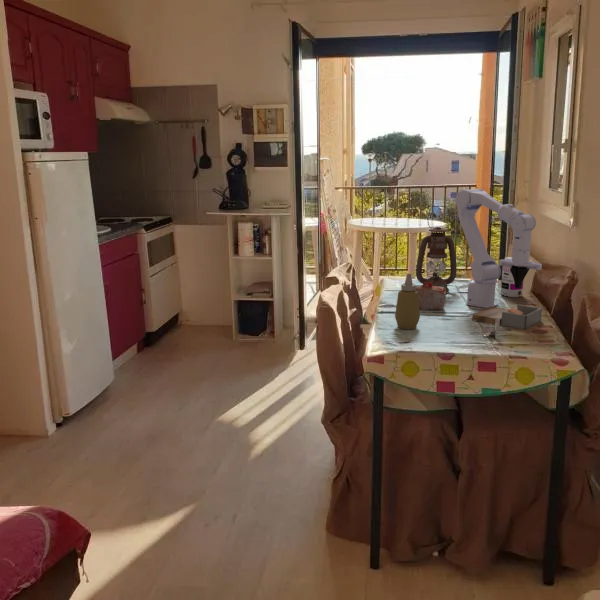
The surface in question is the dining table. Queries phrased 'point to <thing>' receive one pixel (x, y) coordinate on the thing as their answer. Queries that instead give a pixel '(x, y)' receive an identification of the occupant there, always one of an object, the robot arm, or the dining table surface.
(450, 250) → the lantern
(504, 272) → the supplement can
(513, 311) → the tile terracotta
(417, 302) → the squeeze bottle
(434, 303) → the food item
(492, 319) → the walnut plate
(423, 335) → the dining table surface
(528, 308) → the box
